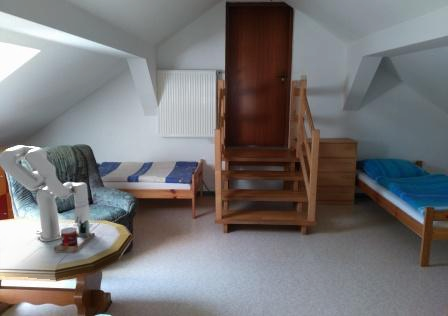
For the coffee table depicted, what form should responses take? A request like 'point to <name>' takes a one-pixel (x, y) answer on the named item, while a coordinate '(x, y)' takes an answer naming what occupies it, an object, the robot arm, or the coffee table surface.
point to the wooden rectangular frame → (75, 248)
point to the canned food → (69, 237)
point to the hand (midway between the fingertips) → (84, 231)
